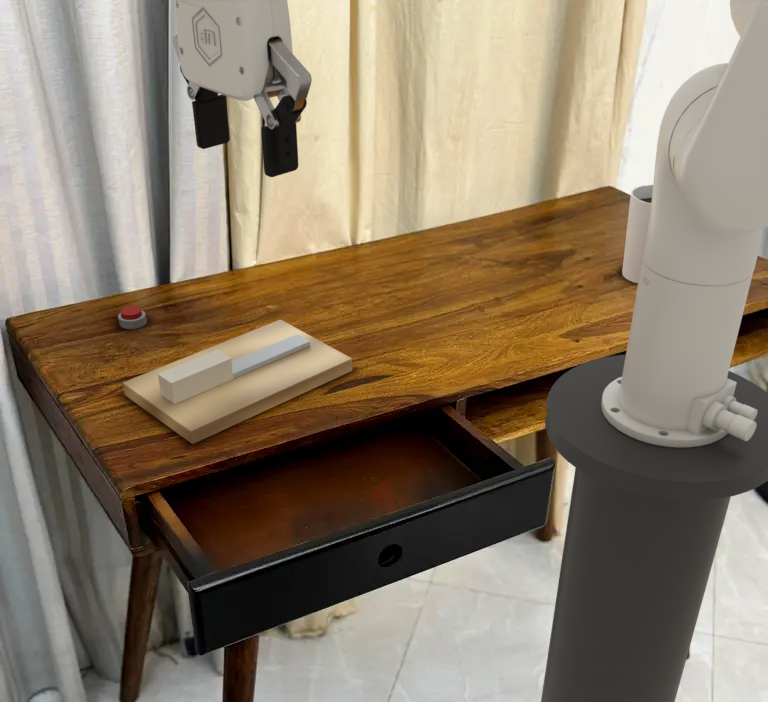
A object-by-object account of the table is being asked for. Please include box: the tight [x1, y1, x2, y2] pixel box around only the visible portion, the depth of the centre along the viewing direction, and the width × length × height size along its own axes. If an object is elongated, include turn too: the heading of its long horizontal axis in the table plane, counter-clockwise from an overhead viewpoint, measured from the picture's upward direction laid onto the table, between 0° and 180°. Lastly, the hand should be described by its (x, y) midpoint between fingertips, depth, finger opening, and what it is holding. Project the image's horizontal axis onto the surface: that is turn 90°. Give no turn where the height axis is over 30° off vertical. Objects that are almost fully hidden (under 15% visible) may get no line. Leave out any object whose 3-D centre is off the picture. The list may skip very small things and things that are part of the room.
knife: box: [158, 334, 310, 404], centre depth 99 cm, size 17×2×2 cm, turn 133°
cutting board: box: [122, 319, 353, 445], centre depth 100 cm, size 12×20×2 cm, turn 133°
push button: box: [117, 305, 148, 330], centre depth 111 cm, size 3×3×2 cm
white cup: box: [621, 184, 653, 284], centre depth 118 cm, size 7×7×10 cm
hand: (246, 158), depth 85 cm, fingers open, 9 cm apart
